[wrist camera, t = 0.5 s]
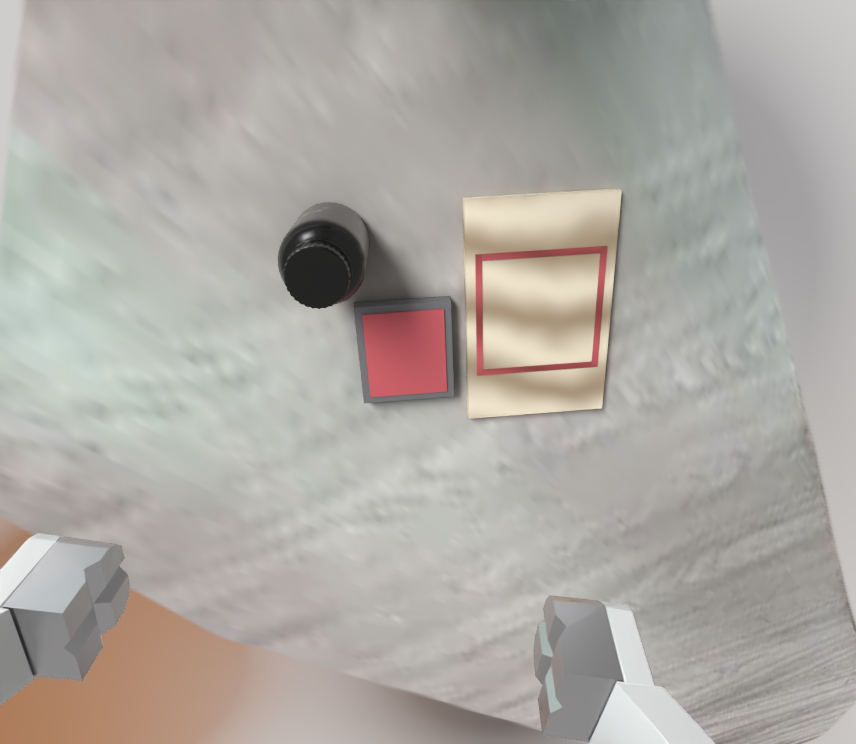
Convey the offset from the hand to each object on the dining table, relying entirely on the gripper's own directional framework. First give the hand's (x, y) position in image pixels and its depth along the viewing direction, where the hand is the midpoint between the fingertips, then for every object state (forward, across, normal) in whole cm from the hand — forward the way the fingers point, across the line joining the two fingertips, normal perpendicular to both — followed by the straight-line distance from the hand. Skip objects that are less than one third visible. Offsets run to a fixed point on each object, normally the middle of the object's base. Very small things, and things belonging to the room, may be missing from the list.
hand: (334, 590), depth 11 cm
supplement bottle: (+44, +8, +7) cm, 45 cm away
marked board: (+46, -12, +12) cm, 48 cm away
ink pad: (+44, +1, +17) cm, 47 cm away
